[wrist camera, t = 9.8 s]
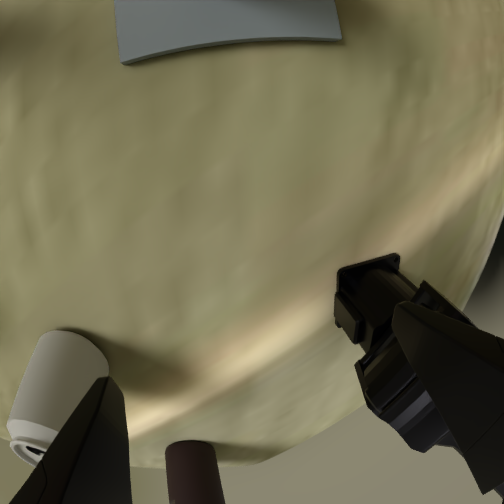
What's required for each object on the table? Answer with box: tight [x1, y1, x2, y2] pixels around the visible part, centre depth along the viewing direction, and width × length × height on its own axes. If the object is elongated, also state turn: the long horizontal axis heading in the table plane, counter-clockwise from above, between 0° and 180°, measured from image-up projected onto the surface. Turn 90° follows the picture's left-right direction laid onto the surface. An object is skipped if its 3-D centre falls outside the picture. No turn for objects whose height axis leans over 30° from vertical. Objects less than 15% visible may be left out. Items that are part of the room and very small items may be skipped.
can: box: [7, 330, 109, 467], centre depth 17 cm, size 8×8×12 cm
